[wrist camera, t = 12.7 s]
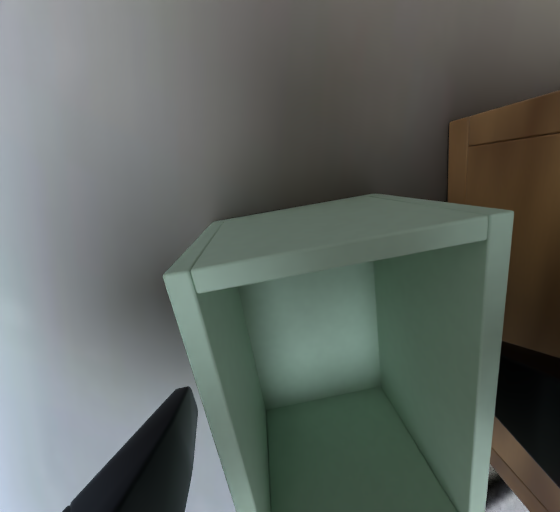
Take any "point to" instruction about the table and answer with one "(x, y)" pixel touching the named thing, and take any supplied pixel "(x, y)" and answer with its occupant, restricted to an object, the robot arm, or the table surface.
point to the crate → (518, 245)
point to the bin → (349, 351)
